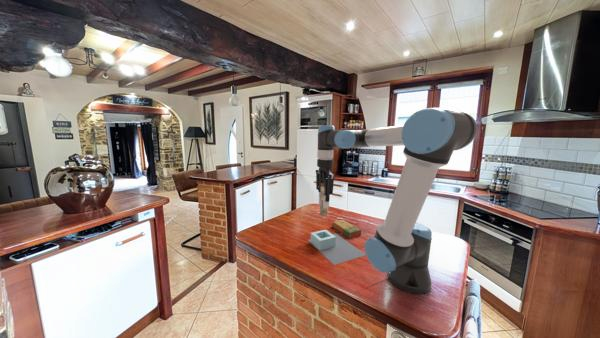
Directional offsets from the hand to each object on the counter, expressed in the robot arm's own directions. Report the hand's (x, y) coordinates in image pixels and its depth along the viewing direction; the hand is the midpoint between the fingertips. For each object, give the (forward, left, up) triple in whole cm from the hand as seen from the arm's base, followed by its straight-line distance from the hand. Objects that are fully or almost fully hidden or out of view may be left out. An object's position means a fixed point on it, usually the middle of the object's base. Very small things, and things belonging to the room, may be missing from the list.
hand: (323, 205), depth 108 cm
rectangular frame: (0, 0, -20) cm, 20 cm away
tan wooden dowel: (0, 0, -4) cm, 4 cm away
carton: (+7, -20, -21) cm, 30 cm away
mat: (-5, -4, -21) cm, 22 cm away
